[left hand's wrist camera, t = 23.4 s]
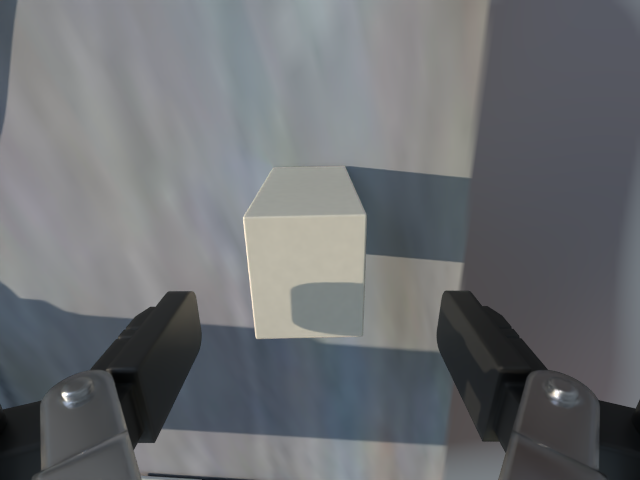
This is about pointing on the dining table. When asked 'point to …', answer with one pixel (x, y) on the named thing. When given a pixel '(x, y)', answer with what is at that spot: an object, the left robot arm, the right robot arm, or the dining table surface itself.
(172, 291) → the left robot arm
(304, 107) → the dining table surface
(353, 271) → the brick
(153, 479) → the invitation card
